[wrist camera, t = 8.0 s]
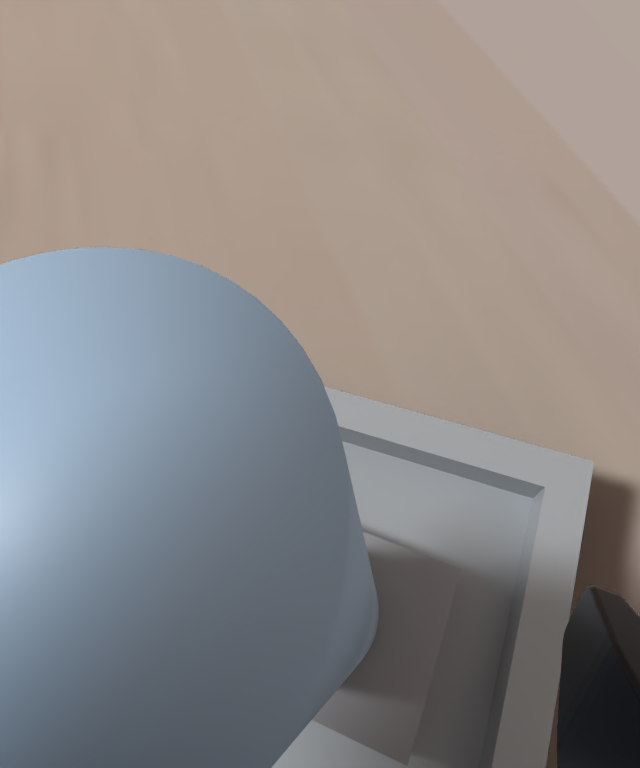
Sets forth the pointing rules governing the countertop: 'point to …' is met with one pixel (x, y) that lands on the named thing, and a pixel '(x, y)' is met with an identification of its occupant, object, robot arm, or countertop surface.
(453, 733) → the tray
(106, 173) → the countertop surface
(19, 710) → the tall blue pillar
